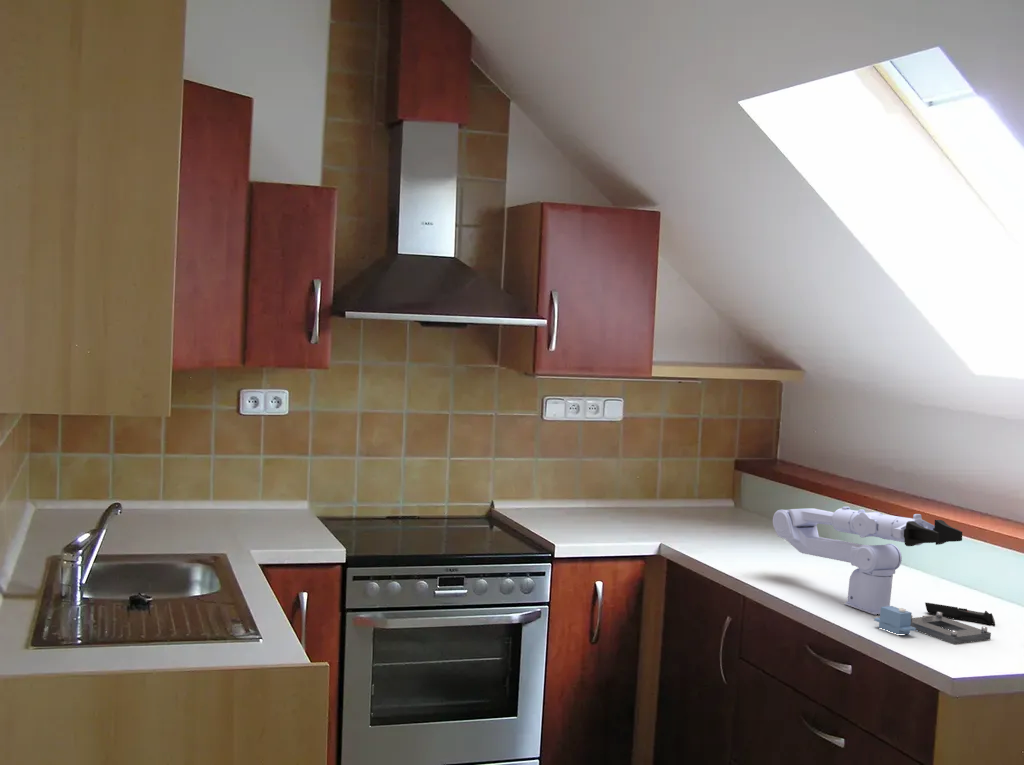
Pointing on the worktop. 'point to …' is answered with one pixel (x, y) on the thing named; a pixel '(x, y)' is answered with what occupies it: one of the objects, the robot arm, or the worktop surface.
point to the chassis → (957, 633)
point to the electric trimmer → (961, 613)
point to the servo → (895, 620)
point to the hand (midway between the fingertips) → (949, 536)
